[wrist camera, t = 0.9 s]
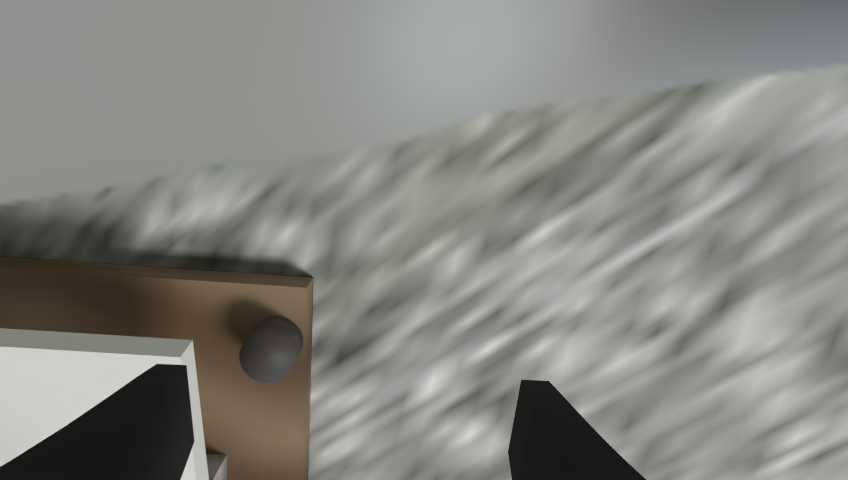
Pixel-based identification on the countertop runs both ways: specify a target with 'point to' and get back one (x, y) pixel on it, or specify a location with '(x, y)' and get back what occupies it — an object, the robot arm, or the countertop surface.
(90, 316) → the levelling stand
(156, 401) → the robot arm
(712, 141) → the countertop surface
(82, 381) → the levelling deck
